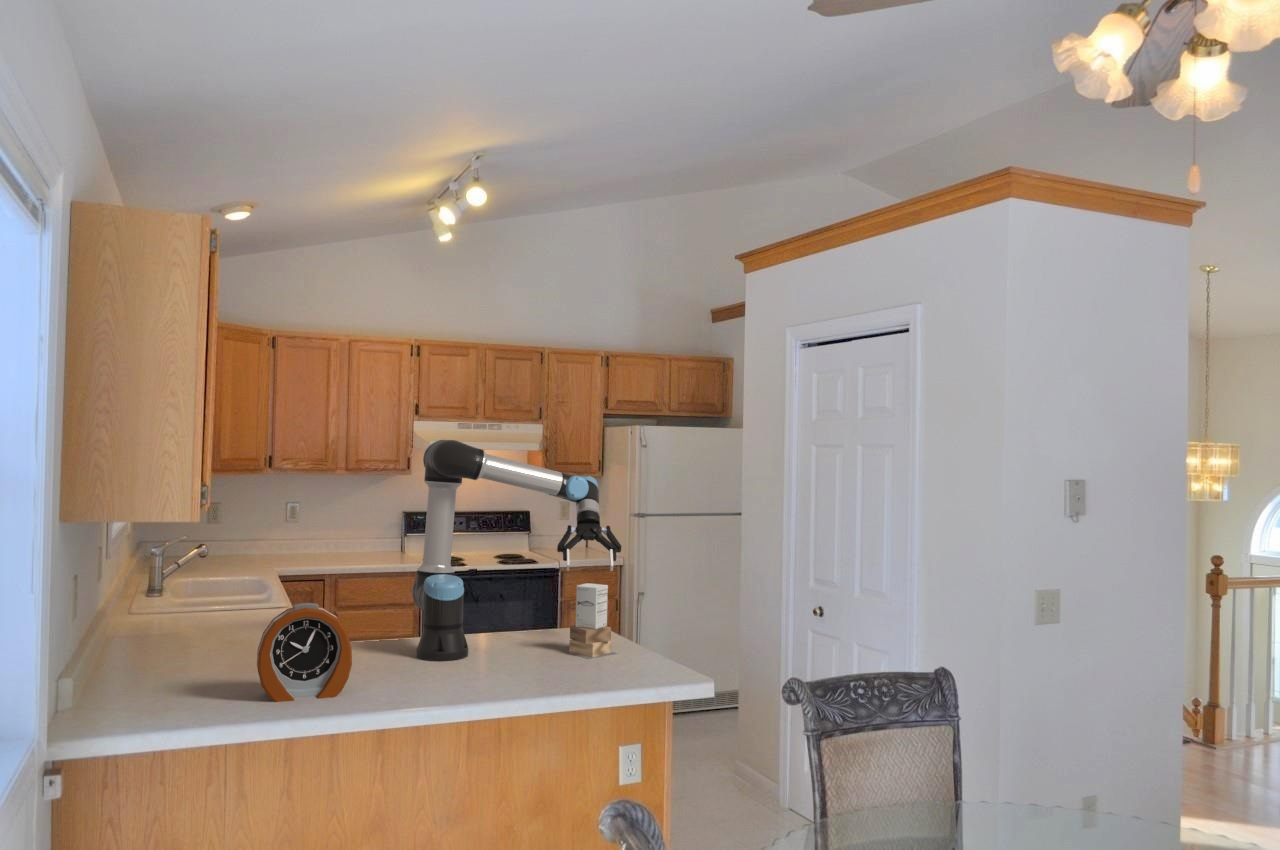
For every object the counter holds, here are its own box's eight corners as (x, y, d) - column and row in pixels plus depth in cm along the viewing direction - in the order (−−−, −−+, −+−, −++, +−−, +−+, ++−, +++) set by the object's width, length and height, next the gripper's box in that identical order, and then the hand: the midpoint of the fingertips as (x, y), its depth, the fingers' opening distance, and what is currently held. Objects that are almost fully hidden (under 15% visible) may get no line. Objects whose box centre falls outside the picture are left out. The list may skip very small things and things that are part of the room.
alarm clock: (257, 703, 232) (259, 609, 233) (255, 694, 241) (258, 603, 242) (352, 695, 241) (354, 604, 242) (347, 686, 250) (349, 598, 251)
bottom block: (592, 657, 288) (592, 643, 288) (569, 653, 293) (569, 640, 293) (611, 652, 295) (611, 639, 295) (588, 648, 300) (588, 635, 300)
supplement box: (574, 627, 293) (575, 585, 293) (587, 623, 299) (587, 582, 300) (595, 629, 289) (596, 587, 290) (607, 625, 296) (608, 584, 296)
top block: (585, 643, 288) (585, 630, 288) (569, 638, 295) (570, 625, 295) (610, 640, 293) (611, 627, 293) (594, 635, 300) (594, 622, 300)
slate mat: (588, 660, 285) (588, 658, 285) (562, 653, 294) (562, 652, 294) (618, 654, 294) (618, 653, 294) (592, 648, 302) (592, 647, 302)
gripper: (625, 524, 320) (629, 575, 304) (549, 523, 317) (549, 575, 301) (627, 509, 314) (631, 560, 299) (550, 508, 312) (550, 560, 296)
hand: (590, 568), depth 300 cm, fingers open, 13 cm apart
